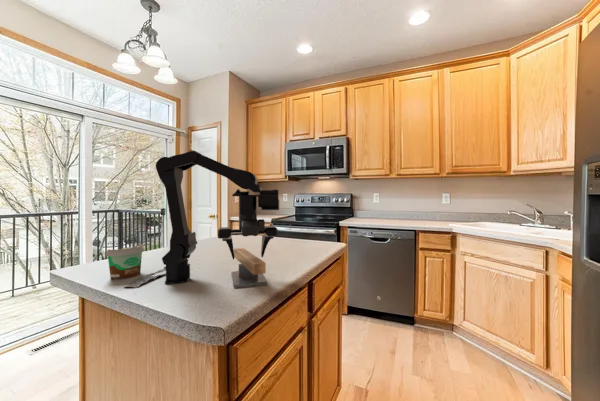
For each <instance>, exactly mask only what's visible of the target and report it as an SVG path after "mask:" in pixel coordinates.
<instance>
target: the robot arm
mask: <svg viewBox="0 0 600 401" xmlns="http://www.w3.org/2000/svg"><path fill="white" fill-rule="evenodd" d="M196 165H197V166H199V167H201V168H204V169H206V170H207V171H208V170H209V171H211V172H213V173H215V174H217V175H221V176H222V177H224V178H226V179H228V180H229V181H230V182H232V183H234V184H235V185H236V186H238V187H239V188H237V189H236V191H235V192H234V193H232V195H231V196H232V197H238V229H236V228H235V229H231V227H229V226H228V227H227V226H226V227H223V226H222V227H219V228H218V229H217V239H221V241H222V242H226V244H227V246H228V249H229V252H230V254H231V257H232V260H235V257H234V249H235V248H234V244H233V238H232V236H243V237H249V236H250V237H251V236H253V237H257V236H259V235H261V245H260V246H261V247H260V248H261V249H260V256H261V258H263V257H264V255H265V253H266V249H267V246H268V244H269V242H270V241H271V240H272V239H274V237H277V236H279V235H278V233H279V231H278V228H277V227H276V226H274V225H266V222H265V221H266V220H265V218H262V219H258V218H257V216H258V214H257V213H258V210H257V209H258V208H260V209H261V211H280V196H279V192H280V191H279V189H265V190H263V188H262V187H261V186H260V185H259V183H258V182H259V181H258V177H257V175H256V174H254V173H253V172H251V171H249V170H246V169H245V170H244V169H240V168H235V167H231V166H229V165H226V164H225V163H224V164H223V163H222V162H220V161H217V160H215V159H213V158H210V157H208V156H206V155H204V154H202V153H201V152H198V151H196V150H193V149H192V150H190V151H189V150H188V151H187V152H184V153H178V154H175V155H171V156H162V157H160V158H159V159H158V160H157V161H156V162H155V169H156V173H157V174H158V178H159V179H160V180H161V183H162V184H163V186H164V188H165V189H164V190H165V193H166V194H165V195H166V200H167V206H168V207H167V208H168V212H169V219H170V224H171V229H172V231H171V236H170V239H169V250H168V251H167V252H166V253H165V254H164V256H163V257H162V258H161V261H162V263H163V265H165V267H166V271H165V273H166V274H165V281H164V284H166V285H168V284H179V283H187V282H188V281H189V279H190V278H191V264H190V263H189V259H190V257H191V255H192V253H193V252H194V251H195V250H196V248H197V244H198V240H197V237H196V236H197V233H196V231H193V232H191V230H190V229H189V227H188V222H187V221H188V220H187V213H186V208H185V203H184V197H183V190H182V182H183V178H184V171H187V170H189V169H191V168H193V167H194V166H196ZM240 188H241V189H242V191H241V189H240ZM243 190H247V191H243ZM249 190H250V191H249ZM251 192H253V193H258V194H251ZM257 198H258V200H257Z"/></svg>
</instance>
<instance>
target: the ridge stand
mask: <svg viewBox="0 0 600 401" xmlns="http://www.w3.org/2000/svg"><path fill="white" fill-rule="evenodd" d="M230 275H231V280H232V286H233V289H241V288H249V287H258V286H267V285H268V280H267V279H266V277H265V275H264V273H263V274H256V275H253V274H252V273H251V272H250V271H249V270H248V269H247V268H246V267H245V266H244V265H242V264H241V263H238V270H236V271H231V274H230Z"/></svg>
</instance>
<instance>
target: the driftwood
mask: <svg viewBox="0 0 600 401" xmlns="http://www.w3.org/2000/svg"><path fill="white" fill-rule="evenodd" d="M163 272H165V273H163ZM160 273H162V274H160ZM156 274H157V275H156ZM164 275H165V276H166V266H164V267H163V268H162V269H159V270H157V271H155V272H151V273H148V274H146V275H143V276H142V277H140V278H137V279H135V280H132V281H131V282H130V283H129V284H128V285H127V286H124V287H123V288H128V287H129V288H139V287H140V285H142V284H144V283H145V284H146V283H147V282H148V281H150V280H153V281H155V279H156V278H157V277H159V276H164Z"/></svg>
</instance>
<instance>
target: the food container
mask: <svg viewBox="0 0 600 401" xmlns="http://www.w3.org/2000/svg"><path fill="white" fill-rule="evenodd" d="M144 251H145V248H144V245H143V244H142V243H139V242H138V243H137V245H135V246H132V247H122V248H119V249H107V250H106V253H105V257H107V259H108V260H107V261H108V269H109V278H110V280H125V279H130V278H135V277H137V276H139V275H140V274H141V268H142V258H143V257H142V255H143V252H144Z"/></svg>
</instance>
